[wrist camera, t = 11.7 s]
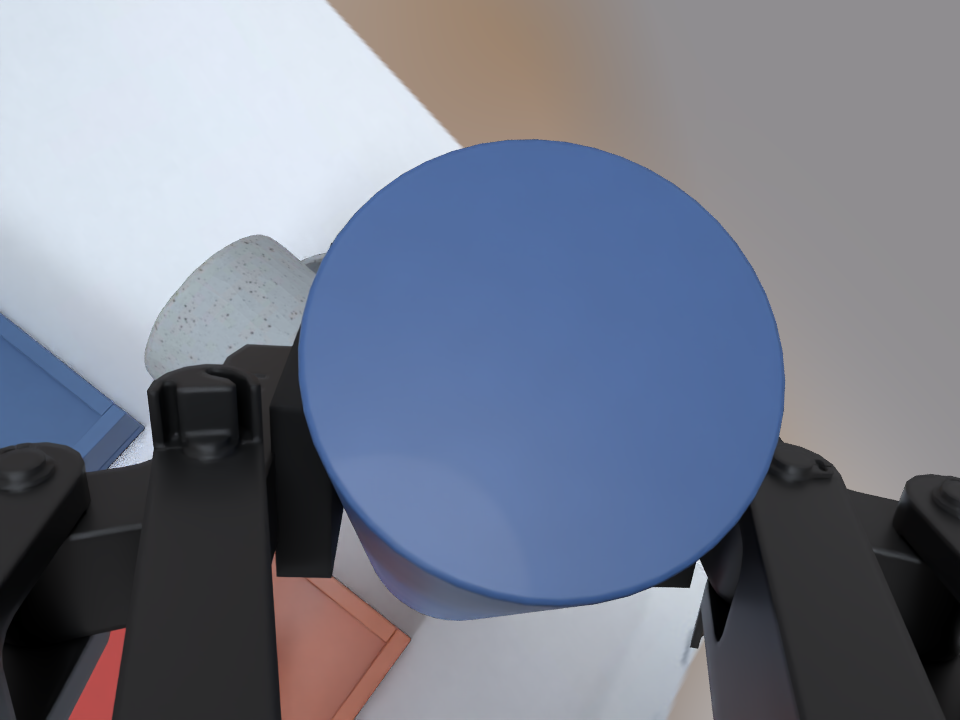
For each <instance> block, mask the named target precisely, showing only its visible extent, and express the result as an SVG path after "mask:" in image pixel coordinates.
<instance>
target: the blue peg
mask: <svg viewBox="0 0 960 720" xmlns="http://www.w3.org/2000/svg"><path fill="white" fill-rule="evenodd" d="M298 377H299V386H300V392H301V399H302V405H303V411H304V415H305V418H306V421H307V425H308V428H309V431H310V434H311V438H312V441H313V444H314V446H315V448H316V450H317V452H318V455H319V457H320V459H321V461H322V463H323V465H324V467H325V470H326V472H327V474H328V476H329V478H330V480H331V482H332V484H333V486H334V488H335V490H336V492H337V494H338V496H339V498H340V501H341V503H342V505H343V507H344V509H345V511H346V513H347V515H348V517H349V519H350V521H351V523H352V525H353V527H354V529H355V531H356V533H357V535H358V537H359V539H360V541H361V544H362V546H363V548H364V550H365V552H366V554H367V556H368V558H369V560H370V562H371V564H372V566H373V568H374V570H375V572H376V574H377V575H378V577H379V578H380V580H381V581H382V583H383V584H384V585H385V586H386V587H387V589H388V590H389V591H390V592H391V593H392V594H393V595H394V596H395V597H397V598H398V599H399V600H400V601H401V602H403V603H404V604H406V605H407V606H409V607H410V608H412V609H414V610H416V611H418V612H420V613H422V614H425V615H428V616H431V617H434V618H439V619H444V620H456V621H463V620H473V619H481V618H489V617H497V616H505V615H513V614H521V613H529V612H537V611H545V610H553V609H561V608H569V607H577V606H585V605H593V604H598V603H603V602H607V601H611V600H615V599H619V598H624V597H628V596H631V595H633V594H636V593H638V592H641V591H643V590H646V589H649V588H651V587H654V586H656V585H659V584H661V583H663V582H664V581H666V580H668V579H670V578H671V577H673V576H675V575H677V574H678V573H680V572H682V571H684V570H685V569H687V568H689V567H690V566H691V565H693V564H694V563H695V562H696V561H698V560H699V559H700V558H702V557H703V556H704V555H705V554H707V553H708V552H709V551H710V550H712V549H713V548H714V547H715V546H716V545H717V544H718V543H719V542H720V541H721V540H722V539H723V538H724V537H725V536H726V535H727V534H728V533H729V531H730V530H731V529H732V528H733V527H734V526H735V525H736V524H737V523H738V521H739V520H740V518H741V517H742V515H743V514H744V513H745V511H746V510H747V508H748V507H749V505H750V504H751V503H752V501H753V500H754V498H755V496H756V494H757V492H758V490H759V488H760V486H761V484H762V482H763V480H764V478H765V476H766V474H767V472H768V470H769V467H770V464H771V461H772V458H773V455H774V452H775V449H776V446H777V443H778V439H779V433H780V428H781V423H782V417H783V411H784V391H785V374H784V363H783V352H782V347H781V342H780V338H779V333H778V329H777V324H776V321H775V318H774V315H773V312H772V309H771V307H770V304H769V301H768V298H767V296H766V293H765V291H764V289H763V287H762V285H761V283H760V281H759V279H758V277H757V275H756V273H755V271H754V269H753V268H752V266H751V264H750V263H749V262H748V260H747V258H746V257H745V255H744V254H743V252H742V251H741V249H740V248H739V246H738V245H737V243H736V242H735V241H734V240H733V239H732V237H731V236H730V235H729V234H728V233H727V232H726V230H725V229H724V228H723V227H722V226H721V224H720V223H719V222H718V221H717V220H716V219H715V218H714V217H713V216H712V215H711V214H709V212H708V211H706V210H705V209H704V208H703V207H702V206H701V205H700V204H699V203H698V202H697V201H696V200H694V199H693V198H692V197H690V196H689V195H688V194H686V193H685V192H684V191H682V190H681V189H680V188H678V187H677V186H676V185H674V184H673V183H671V182H670V181H668V180H666V179H664V178H663V177H661V176H660V175H658V174H656V173H655V172H653V171H651V170H649V169H648V168H645V167H643V166H641V165H639V164H637V163H634V162H632V161H630V160H628V159H625V158H623V157H621V156H618V155H615V154H612V153H608V152H605V151H602V150H599V149H596V148H592V147H588V146H582V145H578V144H573V143H568V142H560V141H549V140H538V139H532V140H505V141H498V142H490V143H483V144H478V145H474V146H471V147H467V148H463V149H459V150H455V151H451V152H449V153H446V154H444V155H441V156H439V157H436V158H434V159H431V160H429V161H426V162H424V163H422V164H421V165H419V166H417V167H415V168H413V169H411V170H410V171H408V172H406V173H404V174H402V175H400V176H399V177H398V178H396V179H395V180H394V181H392V182H391V183H389V184H388V185H387V186H385V187H384V188H383V189H381V190H380V191H378V192H377V193H376V194H375V195H374V196H373V197H372V198H371V199H370V200H369V201H368V202H367V203H366V204H364V205H363V206H362V207H361V208H360V209H359V210H358V211H357V212H356V213H355V214H354V215H353V217H352V218H351V219H350V220H349V222H348V223H347V224H346V225H345V226H344V228H343V229H342V230H341V231H340V233H339V234H338V235H337V236H336V238H335V240H334V241H333V243H332V245H331V246H330V248H329V250H328V251H327V253H326V255H325V256H324V258H323V260H322V261H321V264H320V266H319V268H318V271H317V273H316V275H315V278H314V280H313V282H312V285H311V287H310V290H309V293H308V297H307V301H306V304H305V308H304V312H303V316H302V321H301V329H300V337H299V345H298Z"/></svg>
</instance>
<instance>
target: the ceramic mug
mask: <svg viewBox="0 0 960 720" xmlns="http://www.w3.org/2000/svg"><path fill="white" fill-rule="evenodd" d="M325 255H326V253H324V254H319V255H315V256H312V257H309V258H306V259H304V260H302V261H300V260H298V259H297V258H296V257H295V256H294V255H293V254H292V253H290V252H289V251H288V250H287V249H286V248H284V247H283V246H282V245H281V244H279V243H278V242H277V241H275V240H273V239H272V238H270V237H268V236H263V235H252V236H249V237H245V238H242V239H239V240H238V241H236V242H234V243H232V244H230V245H228V246H226V247H225V248H223V249H222V250H220V251H218V252H217V253H215V254H214V255H212V256H211V257H210V258H209V259H208V260H207V261H205V262H204V263H203V264H202V265H201V266H199V267H198V268H197V269H196V270H195V271H194V272H193V273H192V274H191V275H190V276H189V277H188V278H187V279H186V281H185V282H184V283H183V284H182V286H181V287H180V288H179V289H178V290H177V291H176V293H175V294H174V295H173V296H172V297H171V298H170V300H169V301H168V302H167V304H166V305H165V307H164V308H163V309H162V311H161V312H160V314H159V315H158V317H157V319H156V321H155V323H154V325H153V327H152V330H151V333H150V336H149V339H148V342H147V346H146V349H145V365H146V368H147V371H148V372H149V374H150V375H151V376H152V377H153V378H154V380H156V379H157V378H159V377H161V376H162V375H164V374H165V373H167V372H170V371H173V370H176V369H179V368H183V367H186V366H193V365H201V364H223V363H224V361H225V360H226V358H227V357H228V356H229V355H231V354H232V353H234V352H235V351H237V350H238V349H240V348H241V347H243V346H245V345H246V344H258V345H278V346H292V345H293V343H294V340H295V337H296V335H297V332H298V329H299V327H300V324H301V321H302V316H303V312H304V308H305V304H306V301H307V297H308V293H309V290H310V287H311V285H312V282H313V280H314V278H315V275H316V273H317V271H318V268H319V266H320V264H321V261H322V260H323V258H324V256H325Z"/></svg>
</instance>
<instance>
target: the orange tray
mask: <svg viewBox="0 0 960 720" xmlns="http://www.w3.org/2000/svg"><path fill="white" fill-rule="evenodd" d="M272 580H273V596H274V611H275V627H276V642H277V657H278V673H279V688H280V703H281V719H282V720H354V718H355V717H356V716H357V714H358V713H359V711H360V710H361V709H362V707H363V706H364V705H365V703H366V702H367V700H368V699H369V698H370V696H371V695H372V693H373V692H374V691H375V689H376V688H377V687H378V685H379V684H380V682H381V681H382V680H383V678H384V677H385V675H386V674H387V673H388V671H389V670H390V669H391V667H392V666H393V664H394V663H395V662H396V660H397V659H398V657H399V656H400V655H401V653H402V652H403V651H404V649H405V648H406V646H407V645H408V644H409V642H410V641H411V638H410V637H409V636H407V635H406V634H405V633H404V632H402V631H401V630H400V629H399V628H397V627H396V626H395V625H394V624H392V623H391V622H390V621H388V620H387V619H386V618H385V617H383V616H382V615H381V614H380V613H378V612H377V611H376V610H375V609H373V608H372V607H371V606H370V605H368V604H367V603H366V602H365V601H363V600H362V599H361V598H359V597H358V596H357V595H356V594H354V593H353V592H352V591H351V590H349V589H348V588H347V587H346V586H344V585H343V584H342V583H341V582H339V581H338V580H337V579H336V578H334V577H333V576H332V578H302V577H276V554H274V558H273V561H272Z"/></svg>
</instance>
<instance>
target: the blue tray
mask: <svg viewBox="0 0 960 720" xmlns="http://www.w3.org/2000/svg"><path fill="white" fill-rule="evenodd" d="M143 429H144V426H143V425H141V424H140V423H139V422H138V421H136V420H135V419H134V418H133V417H131V416H130V415H129V414H127V413H126V412H125V411H124V410H122V409H121V408H120V407H119V406H117V405H116V404H115V403H114V402H112V401H111V400H110V399H109V398H107V397H106V396H105V395H104V394H102V393H101V392H100V391H98V390H97V389H96V388H95V387H93V386H92V385H91V384H90V383H88V382H87V381H86V380H85V379H83V378H82V377H81V376H80V375H78V374H77V373H76V372H75V371H73V370H72V369H71V368H69V367H68V366H67V365H66V364H64V363H63V362H62V361H61V360H59V359H58V358H57V357H56V356H54V355H53V354H52V353H51V352H49V351H48V350H47V349H46V348H44V347H43V346H42V345H41V344H39V343H38V342H37V341H35V340H34V339H33V338H32V337H30V336H29V335H28V334H27V333H25V332H24V331H23V330H22V329H20V328H19V327H18V326H17V325H15V324H14V323H13V322H12V321H10V320H9V319H8V318H6V317H5V316H4V315H3V314H1V313H0V449H1V448H4V447H7V446H11V445H14V446H15V445H17V444H21V443H41V442H50V443H56V444H62V445H67V446H69V447H71V448H73V449H74V450H76V451H78V452H80V454H81V456H82V458H83V460H84V463H85V468H86V472H92V471H99V470H106V469H107V468H108V467H109V466H110V465H111V464H112V463H113V462H114V460H115V459H116V458H117V457H118V456H119V455H120V454H121V453H122V452H123V451H124V450H125V449H126V448H127V447H128V445H129V444H130V443H131V442H132V441H133V440H134V439H135V438H136V437H137V436H138V435H139V434H140V433H141V432H142V430H143Z"/></svg>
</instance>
